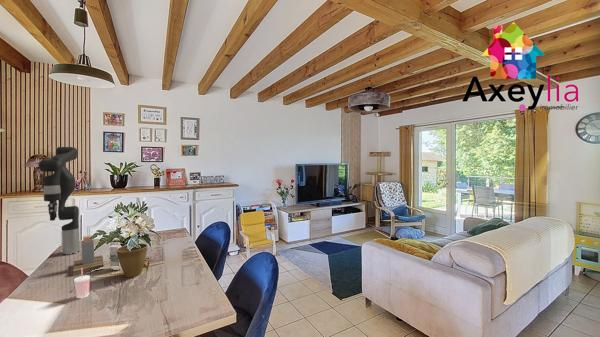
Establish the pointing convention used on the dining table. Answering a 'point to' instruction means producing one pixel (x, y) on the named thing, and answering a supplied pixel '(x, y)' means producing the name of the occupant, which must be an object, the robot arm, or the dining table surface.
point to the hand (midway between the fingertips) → (53, 219)
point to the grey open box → (88, 252)
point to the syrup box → (114, 255)
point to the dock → (87, 265)
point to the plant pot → (132, 260)
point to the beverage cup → (82, 285)
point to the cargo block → (87, 239)
